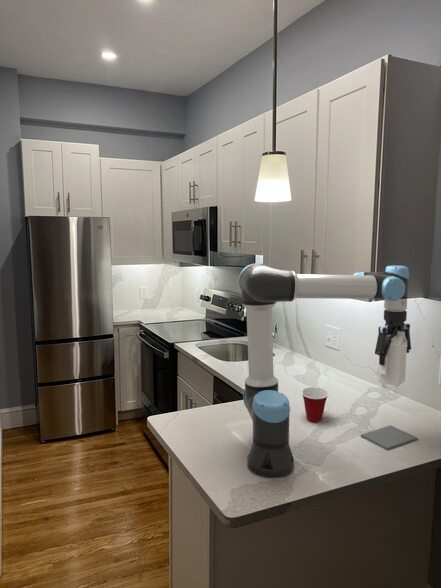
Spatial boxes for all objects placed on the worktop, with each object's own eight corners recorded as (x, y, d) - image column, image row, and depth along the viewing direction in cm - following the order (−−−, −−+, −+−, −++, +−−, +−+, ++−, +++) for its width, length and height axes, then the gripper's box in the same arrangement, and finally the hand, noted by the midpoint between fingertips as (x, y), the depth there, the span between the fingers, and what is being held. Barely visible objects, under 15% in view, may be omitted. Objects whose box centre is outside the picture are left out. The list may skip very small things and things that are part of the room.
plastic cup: (299, 424, 176) (300, 395, 175) (301, 413, 187) (301, 385, 185) (328, 426, 174) (329, 397, 172) (327, 415, 184) (328, 387, 183)
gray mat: (387, 450, 155) (387, 448, 155) (360, 436, 165) (360, 434, 165) (417, 439, 163) (417, 437, 163) (390, 427, 173) (390, 425, 173)
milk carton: (385, 377, 166) (387, 327, 163) (405, 381, 162) (407, 330, 159) (378, 382, 161) (380, 330, 158) (398, 386, 156) (401, 333, 154)
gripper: (382, 314, 149) (379, 379, 152) (424, 308, 159) (420, 369, 163) (365, 310, 155) (362, 373, 159) (406, 305, 166) (403, 364, 169)
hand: (392, 371), depth 161 cm, fingers closed on milk carton, 9 cm apart
